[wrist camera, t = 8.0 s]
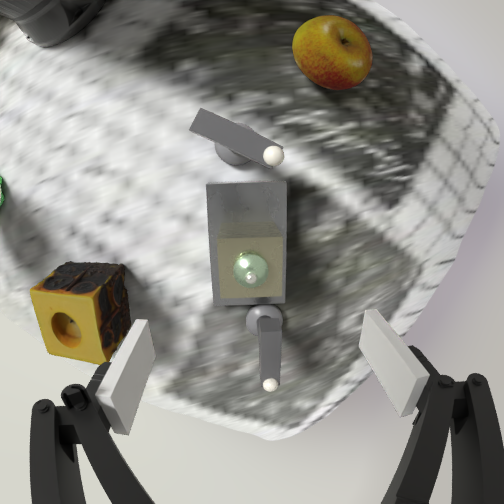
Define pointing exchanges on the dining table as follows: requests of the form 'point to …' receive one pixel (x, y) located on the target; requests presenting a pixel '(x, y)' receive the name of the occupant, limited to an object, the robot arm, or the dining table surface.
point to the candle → (83, 310)
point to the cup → (0, 196)
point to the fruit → (332, 52)
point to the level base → (242, 211)
